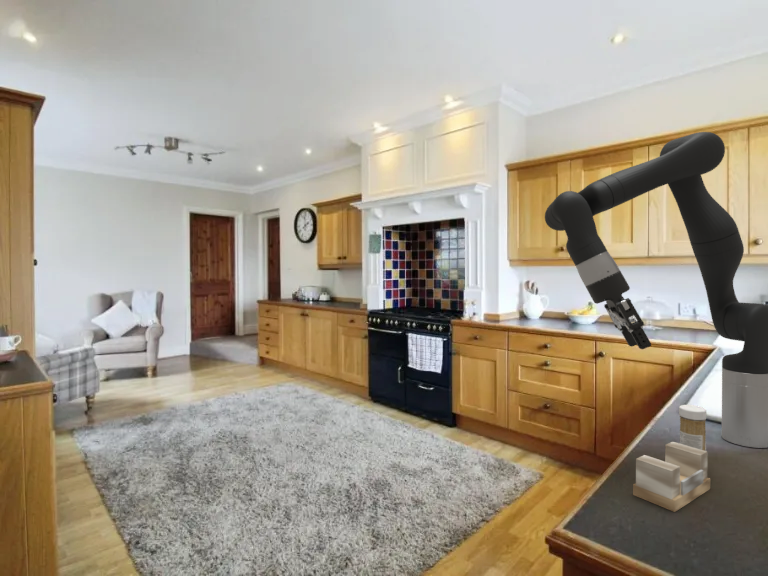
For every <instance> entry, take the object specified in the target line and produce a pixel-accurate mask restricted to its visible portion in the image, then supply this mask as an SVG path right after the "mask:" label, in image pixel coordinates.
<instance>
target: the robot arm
mask: <svg viewBox="0 0 768 576" xmlns="http://www.w3.org/2000/svg"><path fill="white" fill-rule="evenodd" d="M725 153H726V145H725V143H724V140H723V139H722V138H721V137H720V136H719V135H718V134H716V133H715V132H710V131H701V132H699V131H698V132H694V133H691V134H688V135H685V136H681V137H678V138H675V139H672V140H669V141H667V142H666V143H665V144H664V145H663V147H662V148H661V151H660V153H659V156H657V157H655V158H653V159H650V160H647V161H644V162H642V163H639V164H636V165H632V166H631V167H627V168H624V169H622V170H619V171H616V172H614V173H611V174H609V175H607V176H604V177H602V178H600V179H598V180H595V181H593V182H591V183H589V184H587V186H585V187H584V188H582V190H580V191H578V192H576V191H573V190H567V191H564V192H562V193H560V194H559V195H557V197H555V199H554V200H552V202H551V203H550V204H549V205H548V207H547V208H546V210H545V213H544V221H545V224H546V225H547V226H548V227H549V228H550V229H551V230H554V231H559V232H560V231H561V232H562V231H564V233H565V234H566V237H567V239H566V240H567V241H566V244H565V245H566V246H565V247H566V251H567V253H568V255H569V256H570V258H571V260H572V262H573V264H574V266H575V267H576V269H577V270H576V271H577V273H578V275H579V278H580V279H581V281H582V283H583V285H584V286H585V288H586V290H587V292H588V294H589V296H590V298H591V299H592V301H593V302H594V304H601V303H603V302H606V303H605V304H604V305H603V306H604V307H603V308H604V309H606V312H607V314H608V315H609V318H610V320H611V322H613V323H612V324H613V325H614V327H615V329H617V330H618V331H619V332H621V334H622V336H623V338H624V339H625V341H626V344H627V345H628V346H629V347H631V348H632V347H635V346H637V347H638V348H639V349H640V350H644V349H645V350H646V349H647V348H650V347H651V346H652V343H651V341H650V339H649V337H648V336H647V334H646V332H645V330H644V326H645V323H644V321H643V320H642V318H641V317H640V315H639V313H638V312H637V310H636V308H635V306H634V305H633V303H632V300H631V299H630V298H629V297H627V298H624V296H623V294H624V293H626V292H628V291H629V290H630V289H631V288H630V286H629V283H628V282H627V280H626V278H625V276H624V275H623V273H622V271H621V269H620V268H619V266H618V264H617V262H616V261H615V259H614V257H613V256H612V255H611V254H610V253H609V251H608V249H607V248H606V246H605V244H604V241H602V239H601V237H600V236H599V233H598V230H597V226H596V223H595V219H594V216H596V215H598V214H601V213H603V212H606V211H609V210H611V209H613V208H615V207H618V206H620V205H622V204H625V203H626V202H629V201H631V200H634V199H635V198H637V197H639V196H642V195H644V194H646V193H648V192H651V191H653V190H655V189H657V188H661V187H662V186H665V185H667V186H668V187H669V189H670V192H671V194H672V195H673V198H674V200H675V202H676V204H677V207H678V210H679V213H680V216H681V218H682V221H683V223H684V226H685V230H686V232H687V236H688V239H689V242H690V245H691V248H692V252H693V254H694V257H695V259H696V262H697V265H698V268H699V271H700V274H701V277H702V280H703V284H704V288H705V290H706V291H705V292H706V295H707V301H708V308H709V310H710V316H711V320H712V323H713V327H714V329H715V331H716V332H717V334H718V335H719V336H721V338H725V339H727V340H731V341H738V342H743V348H742V350H741V351H740V352H736V353H732V354H726V355H724V356H723V357H722V360H721V376H722V377H721V438H722V439H724V440H725V441H726V442H729V443H732V444H735V445H739V446H742V447H747V448H757V449H767V448H768V304H764V303H753V302H752V303H751V302H739V301H738V298H737V296H736V293H735V287H734V278H735V276H736V273H737V271H738V269H739V267H740V264H741V262H742V259H743V256H744V251H745V247H744V243H743V240H742V238H741V234H740V230H739V227H738V226H737V225H738V224H737V223H736V221H735V220H734V218H733V217H732V215H731V214H730V213H729V212H728V211H727V210H726V209H725V208H724V207H723V205H721V204H720V203H719V202H717V201H716V199H715V198H714V197H712V195H711V194H710V192H709V191H708V189H707V188H706V185H705V182H704V179H703V177H702V175H706V174H707V173H710V172H712V171H714V170H715V169H716V168H717V167H718V166H720V165H721V163H722V161H723V160H724V158H725V157H724V156H725Z"/></svg>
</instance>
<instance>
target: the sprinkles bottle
mask: <svg viewBox="0 0 768 576" xmlns="http://www.w3.org/2000/svg"><path fill="white" fill-rule="evenodd" d="M678 409H679V410H678V415H679V418H680V419H679V423H680V424H679V444H683V445H686V446H690V447H693V448H697V449H700V450H704V451H707V444H706V441H707V440H706V436H707V435H706V432H707V431H706V420H707V415H708V414H707V409H706V408H705V407H702V406H698V405H694V404H693V405H692V404H681V405H679V408H678Z"/></svg>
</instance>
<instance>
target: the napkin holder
mask: <svg viewBox="0 0 768 576" xmlns="http://www.w3.org/2000/svg"><path fill="white" fill-rule="evenodd" d="M664 446H665V451H664V452H665V453H664V454H665V455H664V458H665V459H664V460H665V461H664V460H661V459H658V458H656V457H652V456H650V455H645V454H643V455H641V456H639V457H637V458H635V483H633V484H632V495H633V496H634V497H637V498H640V499H642V500H644V501H647V502H650V503H651V504H654V505H657V506H660V507H662V508H663V509H667V510H668V511H671V512H673V513H676V512H678V511H679V510H681V508H683V507H685V506H687V505H688V504H689V503H692V501H694V500H695V499H698V498H699V497H701V495H703V494H705V493H706V492H708V491H709V490H711V478H710V477H708V451H707V450H706V451H704V450H700V449H697V448H693V447H690V446H686V445H683V444H680V442H675V441H671V442H669V443H665V445H664Z"/></svg>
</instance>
